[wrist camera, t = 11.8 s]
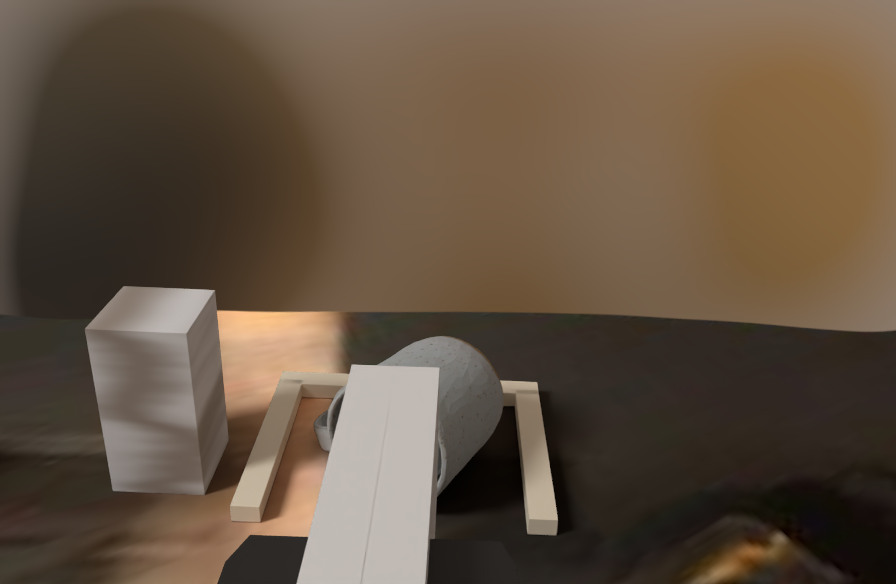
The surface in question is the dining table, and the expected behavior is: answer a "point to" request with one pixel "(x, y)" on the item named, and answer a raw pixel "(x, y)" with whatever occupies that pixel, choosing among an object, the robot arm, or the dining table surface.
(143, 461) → the grey block
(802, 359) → the dining table surface
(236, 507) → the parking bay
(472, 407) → the ceramic mug
